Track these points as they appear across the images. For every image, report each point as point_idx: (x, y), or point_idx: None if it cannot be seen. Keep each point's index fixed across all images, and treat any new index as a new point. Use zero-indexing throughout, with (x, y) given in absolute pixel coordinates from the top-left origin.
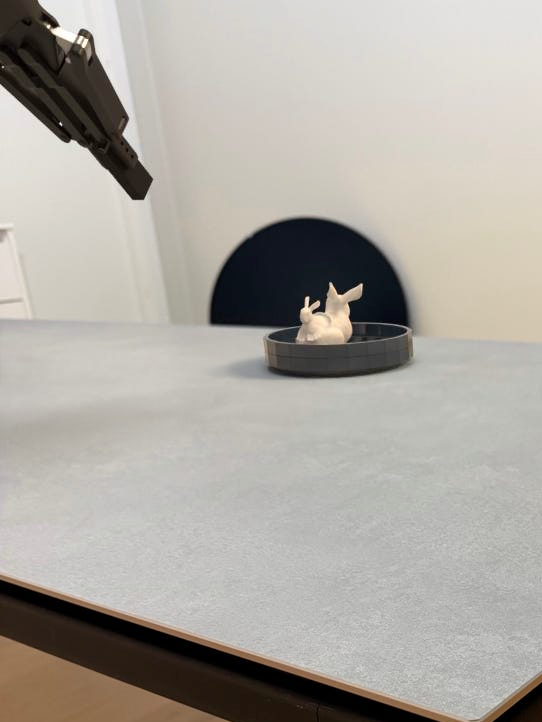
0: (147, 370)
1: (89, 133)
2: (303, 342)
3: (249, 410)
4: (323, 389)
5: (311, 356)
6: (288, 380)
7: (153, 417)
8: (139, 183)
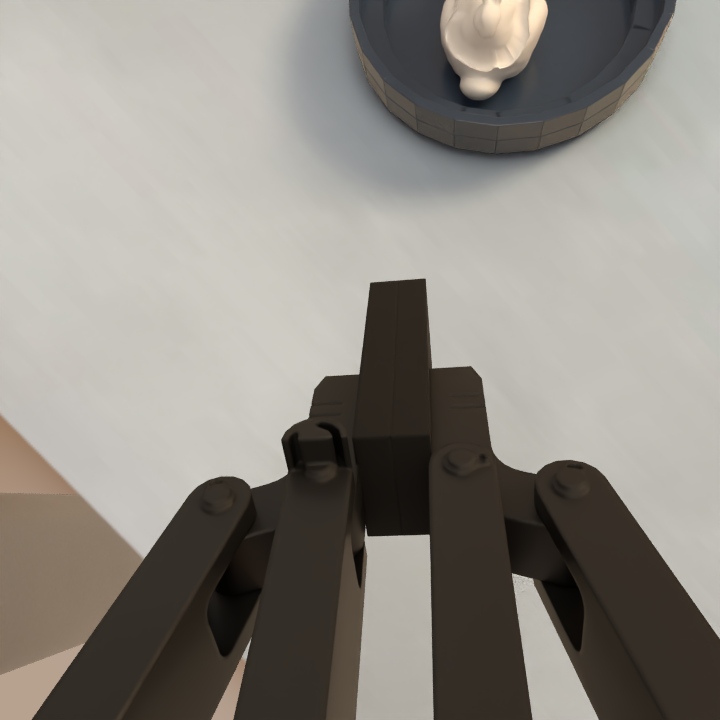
0: (163, 213)
1: (361, 533)
2: (489, 73)
3: (629, 436)
4: (636, 230)
5: (549, 131)
6: (507, 187)
7: None
8: (430, 360)
